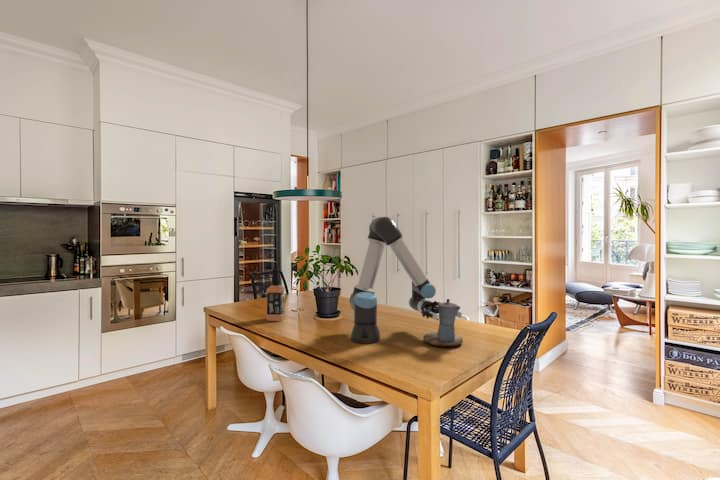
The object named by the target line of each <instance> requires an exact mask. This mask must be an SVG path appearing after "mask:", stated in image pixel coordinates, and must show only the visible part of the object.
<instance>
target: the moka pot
mask: <svg viewBox="0 0 720 480" xmlns="http://www.w3.org/2000/svg"><path fill="white" fill-rule="evenodd" d="M450 301H451V300H450V299H449V298H447V299H446V302H440V301H435V300H434V301H432V302H433V303H432V304H431V308H432V312H433V313H435V311H434V307H433V306H434V305H436V306H438V308H439V314H438V319H437V320H436V321H439V324H438V330H437V332H438V334H437V339H438V340H440V341H445V342H453V341H455V334H456V333H455V323H456V322H455V321H456V317H457V316H456V315H457V313H458V311H459V310H461V306H460V305H458V304H457V303H453V302H450ZM459 312H460V311H459Z"/></svg>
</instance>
